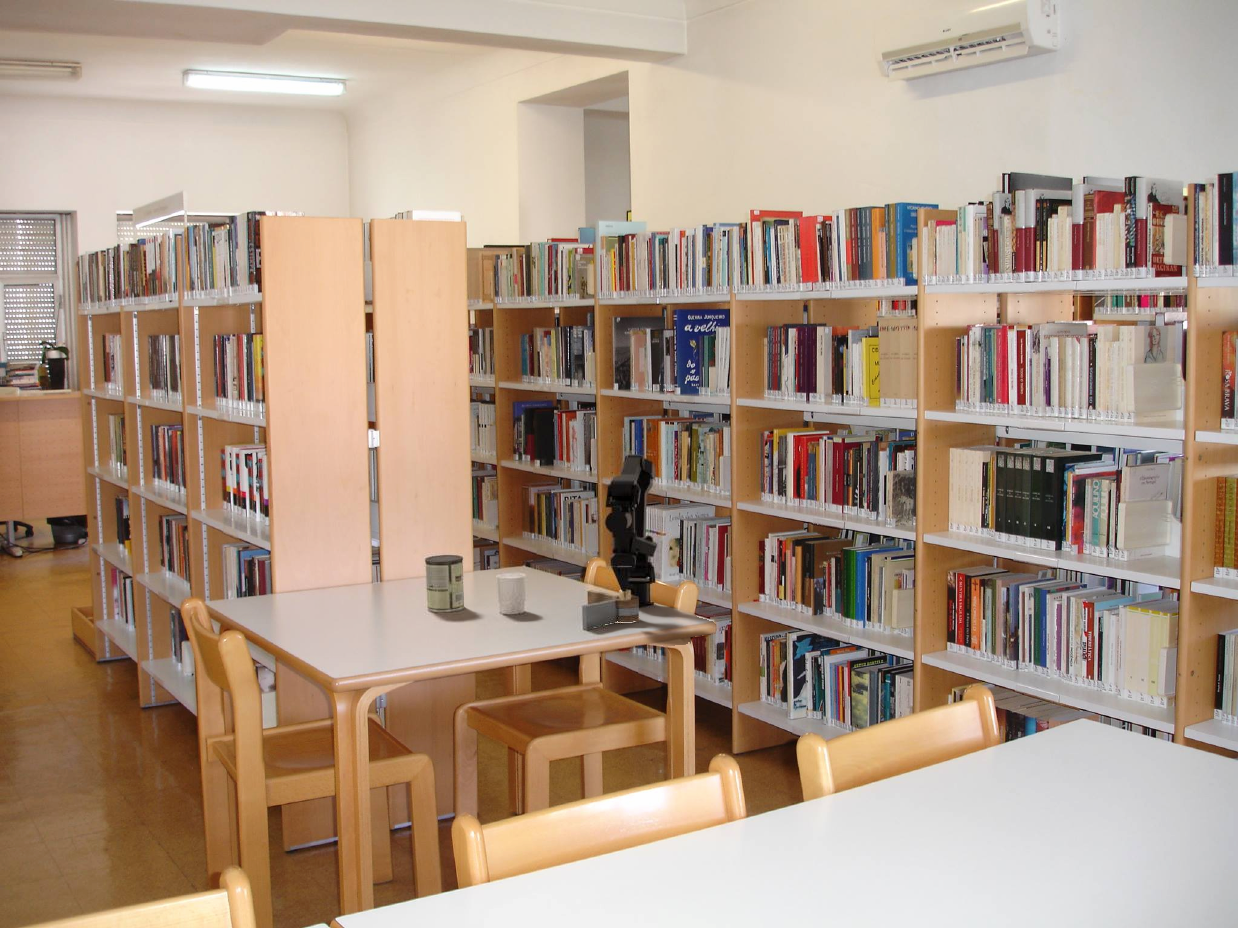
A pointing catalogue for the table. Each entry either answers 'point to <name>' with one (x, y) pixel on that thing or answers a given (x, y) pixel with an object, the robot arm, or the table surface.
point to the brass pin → (625, 595)
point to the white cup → (511, 592)
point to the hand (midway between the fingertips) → (624, 587)
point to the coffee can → (444, 583)
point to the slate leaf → (604, 613)
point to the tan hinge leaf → (633, 602)
